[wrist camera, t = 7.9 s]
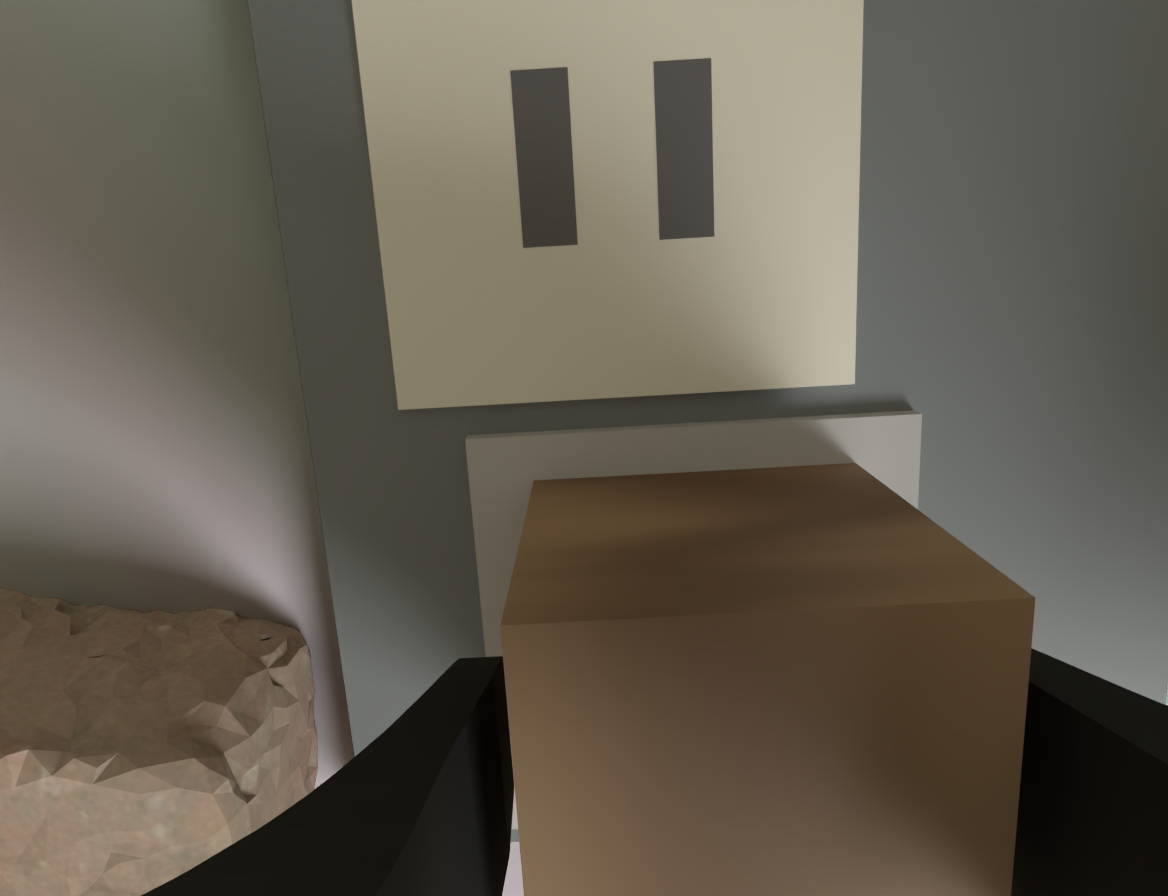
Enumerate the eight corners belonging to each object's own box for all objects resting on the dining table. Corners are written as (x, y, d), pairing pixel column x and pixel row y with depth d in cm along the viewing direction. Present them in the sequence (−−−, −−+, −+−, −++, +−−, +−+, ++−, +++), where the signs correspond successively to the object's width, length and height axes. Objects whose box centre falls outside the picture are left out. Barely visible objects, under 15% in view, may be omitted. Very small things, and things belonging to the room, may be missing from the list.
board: (1341, -964, 10) (1468, -1171, 8) (1133, 766, 15) (1188, 817, 14) (159, -871, 10) (90, -1054, 8) (384, 803, 15) (364, 857, 14)
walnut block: (855, 462, 12) (1036, 598, 7) (848, 748, 13) (1000, 1028, 8) (533, 480, 12) (499, 625, 7) (555, 762, 13) (538, 1047, 9)
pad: (913, 410, 12) (922, 413, 12) (898, 798, 14) (904, 810, 14) (467, 435, 12) (465, 439, 12) (503, 817, 14) (502, 829, 14)
